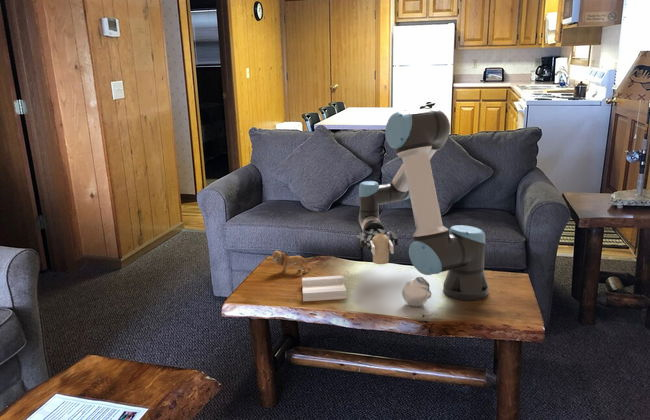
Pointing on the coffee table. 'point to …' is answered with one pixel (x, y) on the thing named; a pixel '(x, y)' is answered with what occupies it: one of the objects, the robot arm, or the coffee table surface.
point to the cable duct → (323, 288)
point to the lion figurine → (289, 260)
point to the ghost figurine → (416, 292)
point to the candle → (381, 249)
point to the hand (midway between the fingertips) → (383, 250)
